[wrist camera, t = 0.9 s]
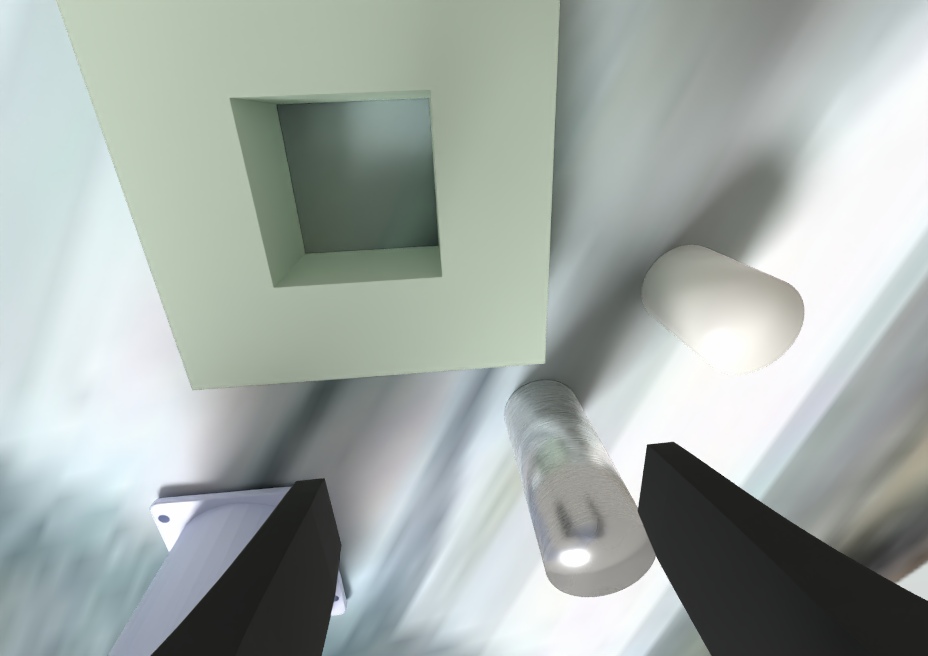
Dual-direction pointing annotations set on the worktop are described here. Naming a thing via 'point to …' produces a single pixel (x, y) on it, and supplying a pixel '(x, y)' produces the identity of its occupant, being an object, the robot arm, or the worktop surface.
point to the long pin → (574, 494)
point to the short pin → (723, 308)
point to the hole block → (270, 189)
